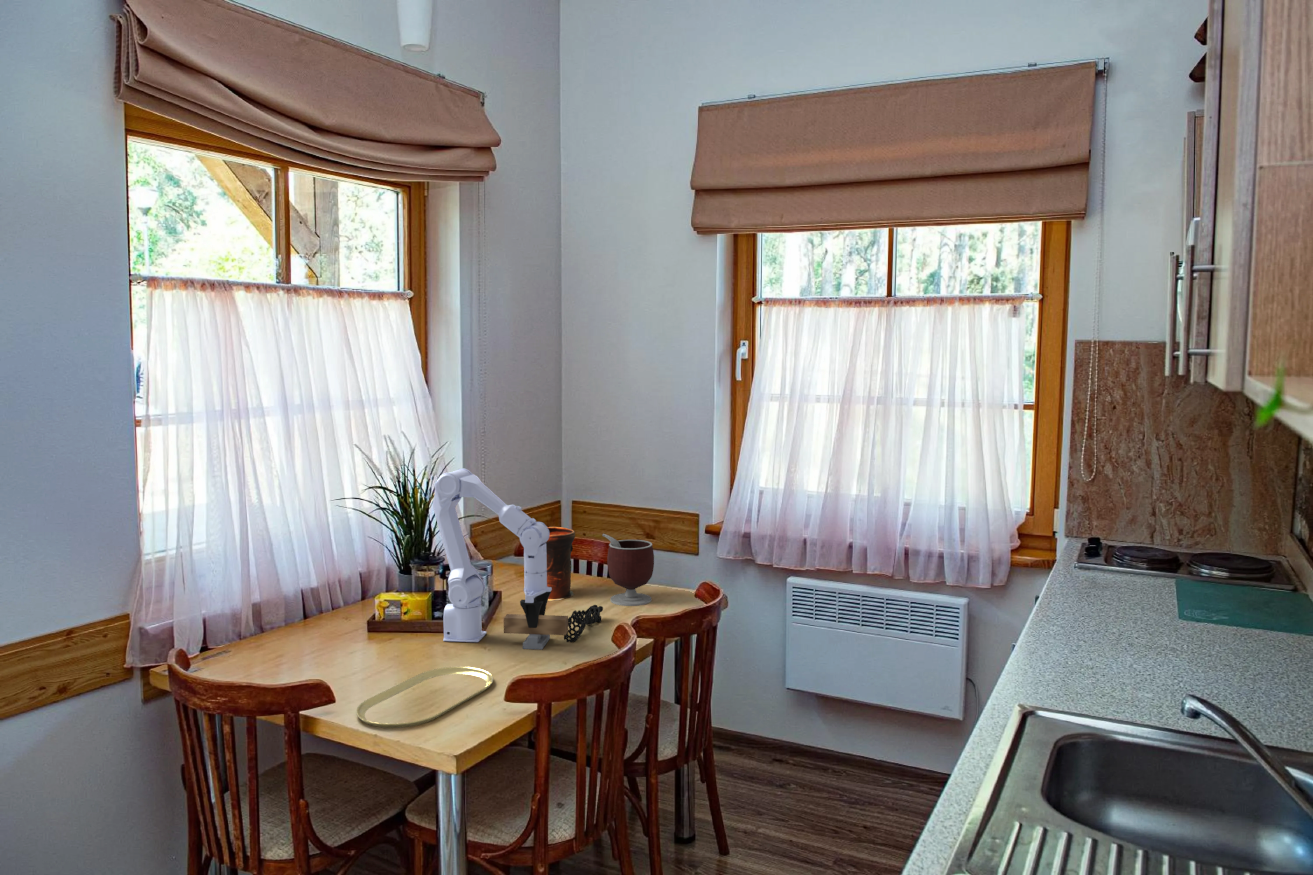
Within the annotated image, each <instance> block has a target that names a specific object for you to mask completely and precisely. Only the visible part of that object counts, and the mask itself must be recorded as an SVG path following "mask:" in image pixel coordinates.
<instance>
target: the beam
mask: <svg viewBox="0 0 1313 875" xmlns="http://www.w3.org/2000/svg"><path fill="white" fill-rule="evenodd" d="M568 618H569V615H550V614H547V615H546V614H545V615H539V620H538V626H537V628H529V627H528V624H527V620H526V616H525V614H518V613H507V614H506V615H505V616H504V617H503V634H510V635H511V634H516V635H529V634H542V635H550V636H564V635H566V634H567V632H568V630H569V626H568ZM568 633H569V632H568Z"/></svg>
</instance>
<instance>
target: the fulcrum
mask: <svg viewBox="0 0 1313 875" xmlns="http://www.w3.org/2000/svg"><path fill="white" fill-rule="evenodd" d="M550 639H551V635H542V634H528V636H527V637H526V638H525V639H524V641H523V642H522V650H543V649H544V647H545V646H546V645H547V643H548V642H549V641H550Z"/></svg>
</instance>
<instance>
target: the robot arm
mask: <svg viewBox="0 0 1313 875" xmlns="http://www.w3.org/2000/svg"><path fill="white" fill-rule="evenodd" d="M433 487H434V496H433V501H432V509H433V512H434V515H435V518H436V519H435V520H436V522H437V527H438V530H439V534H440V537H441V542H442V545H443V548H444V552H445V555H446V559H447V562H448V566H449V569H450V573H449V576H448V579H447V583H448V584H447V585H448V594H447V595H448V600H449V602H450V603H447V604H446V605H445V607H444V609H443V615H442V616H443V618H442V619H443V621H442V622H443V639H442V640H443V642H463V643H465V642H466V643H479V642H480V641H481V640H482V639H483V638H484V637H485V636H486V634H487V633H488V632H487V631H485V630H482V629H483V628H482V623H483V622H482V596H484V594H485V591H486V584H485V582H484V580H483V579H482V578H481V576H480V574H479V571H478V570H477V568H476V567H474V566H473V565H472V563H471V560H470V556H469V552H468V549H467V545H466V541H465V539H464V535H463V531H462V527H461V524H460V520H459V517H458V512H457V508H456V507H457V505H458V504H459V502H460V501H461V499H462V498H474V499H475V500H476V501H478V502H479V503H481V504H482V505H484V506H485V507H487V509H489V510H490V511H492V512H493V513H495V514H496V515H497V516H498V520H499V523H500V524H501V525H503V526H504V527H505V528H507V529H508V530H509V531H510V532H512V534H514V535H515V536H517V537H518V538H519V542H520V544H521V546H522V547H523V568H524V569H523V570H524V571H523V573H524V574H523V576H524V577H523V578H524V587H523V593H524V596H525V597H524V598H525V599H521V600H520V601H519V604H520V606H521V608H522V610H523V613H524V615H525V616H526V620H527V624H528V627H529V628H537V626H538V620H539V615H546V609H547V604H548V598H549V596H550V594H551V590H552V588H551V587H547V553H546V542H547V540H548V539H549V536H550V533H549V529H548V528H547V527H548V526H547V525H546V524H545V522H542V521H537V520H536V519H535V518H534V517H532V518H531V516H529V515H528V514H527V513H525V512H524V511H523V510H522V509H523V507H521V506H520V505H515V504H507V503H505V501H504V500H502V499H501V498H500V497H499V496H498V495H496V493H494V492H493V491H492V490H491V489H490V488H489V487H487V485H486V484H484V483H483V482H482V481H481V479H480V478H479V476H477V475H476V474H474V473H473V472H471V470H469V469H467V468H458V469H456V470H453V471H450V472H444V473H442V474H440V476H438V479H437V480H436V481H435V483H434V484H433ZM544 543H545V544H544Z"/></svg>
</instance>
